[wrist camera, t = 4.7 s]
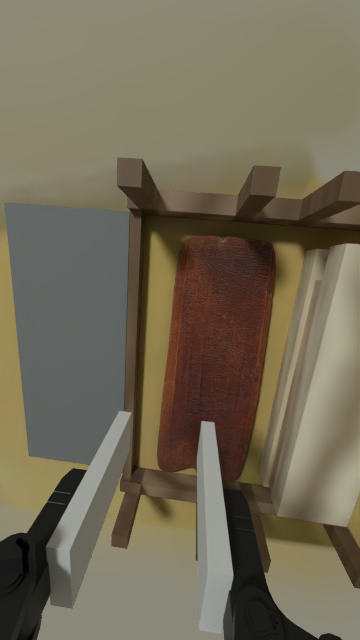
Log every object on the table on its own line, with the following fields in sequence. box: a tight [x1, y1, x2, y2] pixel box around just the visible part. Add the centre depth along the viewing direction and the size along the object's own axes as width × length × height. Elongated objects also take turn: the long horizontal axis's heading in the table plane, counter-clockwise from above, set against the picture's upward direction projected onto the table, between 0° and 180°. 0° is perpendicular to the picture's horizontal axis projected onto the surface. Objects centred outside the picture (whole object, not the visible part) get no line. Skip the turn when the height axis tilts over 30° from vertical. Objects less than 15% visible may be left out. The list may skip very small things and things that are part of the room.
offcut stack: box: [259, 243, 360, 527], centre depth 19 cm, size 6×25×5 cm, turn 175°
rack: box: [112, 158, 360, 588], centre depth 19 cm, size 25×32×7 cm
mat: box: [5, 203, 130, 465], centre depth 23 cm, size 12×29×1 cm, turn 175°
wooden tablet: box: [157, 235, 275, 482], centre depth 22 cm, size 27×10×2 cm, turn 174°
